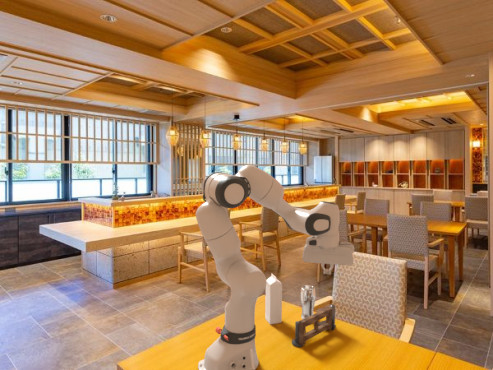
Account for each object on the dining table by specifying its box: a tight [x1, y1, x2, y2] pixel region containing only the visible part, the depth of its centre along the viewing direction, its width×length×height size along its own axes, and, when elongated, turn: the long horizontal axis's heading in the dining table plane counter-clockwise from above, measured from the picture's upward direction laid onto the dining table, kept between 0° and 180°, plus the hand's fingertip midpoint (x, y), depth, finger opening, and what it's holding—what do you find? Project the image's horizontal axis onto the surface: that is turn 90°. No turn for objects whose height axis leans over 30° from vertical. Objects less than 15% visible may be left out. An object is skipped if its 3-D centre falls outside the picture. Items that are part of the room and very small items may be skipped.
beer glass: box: [300, 284, 316, 320], centre depth 159 cm, size 7×7×15 cm
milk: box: [264, 272, 283, 325], centre depth 155 cm, size 6×6×22 cm
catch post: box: [291, 320, 305, 348], centre depth 136 cm, size 5×5×9 cm
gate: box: [298, 306, 332, 345], centre depth 140 cm, size 20×3×10 cm, turn 130°
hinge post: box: [318, 304, 337, 332], centre depth 150 cm, size 6×8×11 cm
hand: (327, 273), depth 136 cm, fingers closed
